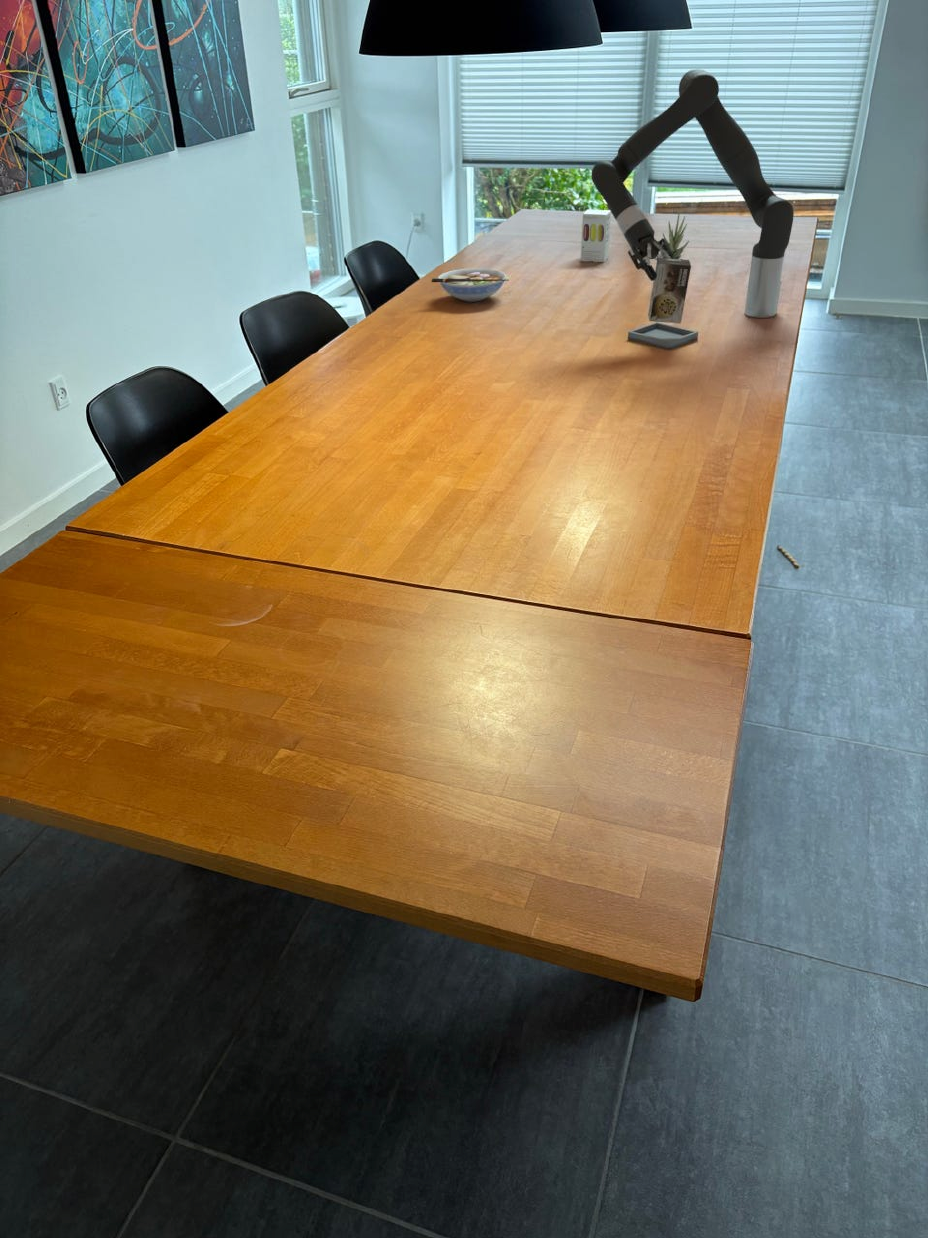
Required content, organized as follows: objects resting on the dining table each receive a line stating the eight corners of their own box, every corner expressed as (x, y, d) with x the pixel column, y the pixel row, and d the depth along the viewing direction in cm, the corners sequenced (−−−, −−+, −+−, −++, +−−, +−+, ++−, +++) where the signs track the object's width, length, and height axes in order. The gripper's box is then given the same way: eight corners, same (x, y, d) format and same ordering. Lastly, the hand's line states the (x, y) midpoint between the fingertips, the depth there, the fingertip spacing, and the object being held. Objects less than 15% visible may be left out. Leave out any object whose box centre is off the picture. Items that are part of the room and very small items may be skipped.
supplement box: (579, 261, 354) (581, 213, 344) (584, 255, 361) (586, 208, 352) (605, 262, 351) (607, 214, 342) (609, 256, 359) (611, 209, 349)
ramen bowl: (511, 289, 322) (511, 265, 318) (507, 308, 303) (507, 282, 299) (439, 290, 325) (438, 265, 320) (431, 308, 306) (430, 282, 302)
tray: (656, 329, 279) (656, 321, 278) (697, 339, 270) (698, 331, 269) (627, 339, 272) (628, 331, 271) (669, 350, 263) (669, 342, 262)
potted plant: (687, 289, 316) (695, 210, 302) (659, 290, 316) (665, 211, 302) (682, 281, 324) (689, 204, 310) (654, 282, 324) (660, 205, 311)
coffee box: (678, 317, 271) (690, 259, 261) (680, 324, 265) (692, 265, 256) (647, 314, 271) (657, 256, 262) (648, 321, 266) (659, 262, 257)
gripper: (626, 221, 256) (656, 272, 255) (659, 213, 264) (688, 263, 263) (610, 239, 262) (639, 289, 262) (643, 231, 270) (671, 279, 269)
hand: (664, 276), depth 262 cm, fingers closed on coffee box, 8 cm apart
